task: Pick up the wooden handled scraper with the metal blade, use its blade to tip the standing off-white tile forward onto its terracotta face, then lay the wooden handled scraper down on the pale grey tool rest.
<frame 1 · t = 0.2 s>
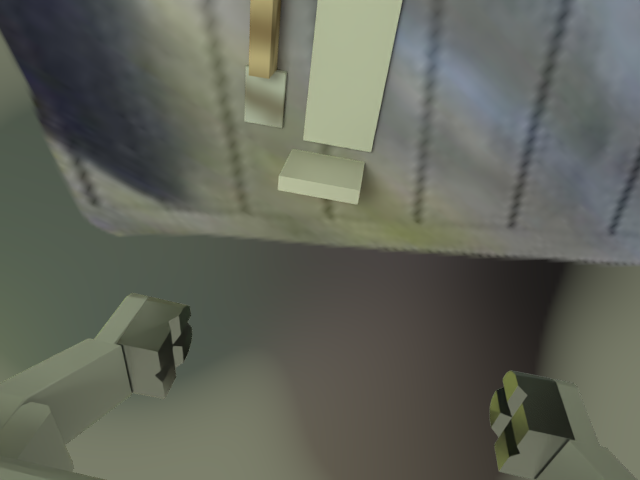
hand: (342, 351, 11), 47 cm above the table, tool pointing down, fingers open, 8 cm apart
tile: (327, 161, 60), on the table
wooden handled scraper: (268, 51, 53), on the table
tool rest: (350, 65, 53), on the table
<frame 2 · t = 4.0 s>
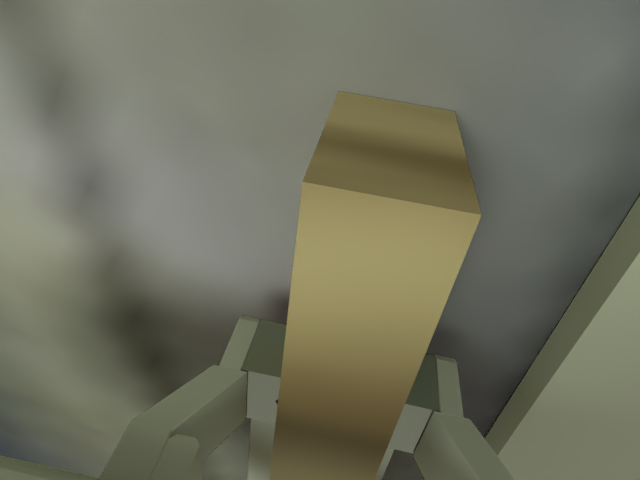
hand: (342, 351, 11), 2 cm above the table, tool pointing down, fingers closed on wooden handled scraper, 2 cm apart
wooden handled scraper: (339, 353, 14), on the table, touching gripper
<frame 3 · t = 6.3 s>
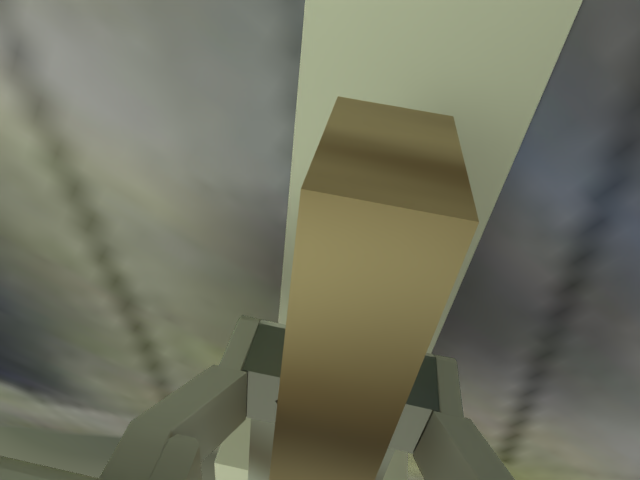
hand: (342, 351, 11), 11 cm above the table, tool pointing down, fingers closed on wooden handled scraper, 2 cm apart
tile: (329, 366, 29), on the table
wooden handled scraper: (338, 356, 14), point 9 cm above the table, touching gripper
tool rest: (384, 208, 21), on the table
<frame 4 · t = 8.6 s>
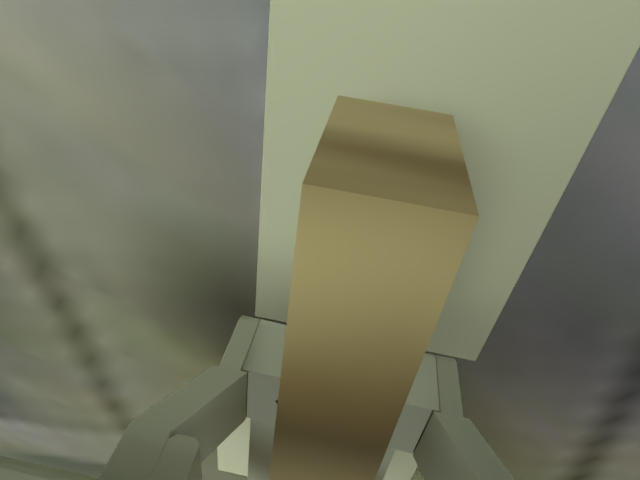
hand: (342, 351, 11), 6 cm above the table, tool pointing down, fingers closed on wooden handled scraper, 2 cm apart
tile: (327, 387, 21), point 1 cm above the table, tilted 90°
wooden handled scraper: (338, 356, 14), point 4 cm above the table, touching gripper
tool rest: (429, 80, 13), on the table
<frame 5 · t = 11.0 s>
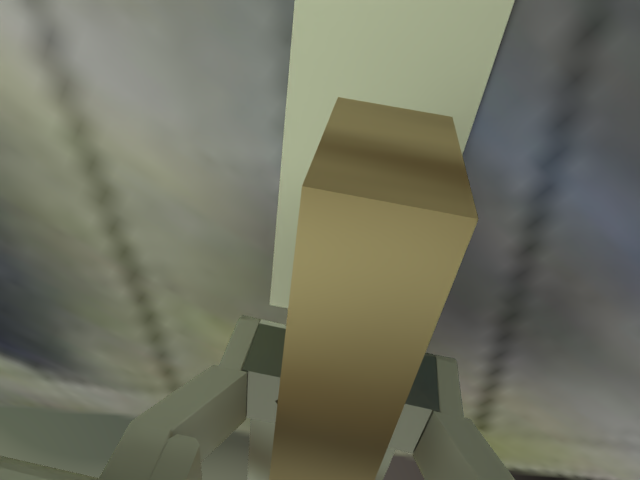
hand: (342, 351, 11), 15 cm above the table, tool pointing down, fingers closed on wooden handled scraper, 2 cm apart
wooden handled scraper: (338, 356, 14), point 13 cm above the table, touching gripper
tool rest: (364, 177, 25), on the table
when the fingers open (4 cm above the table, at t = 13.3 s): wooden handled scraper drops 2 cm, resting on tool rest.
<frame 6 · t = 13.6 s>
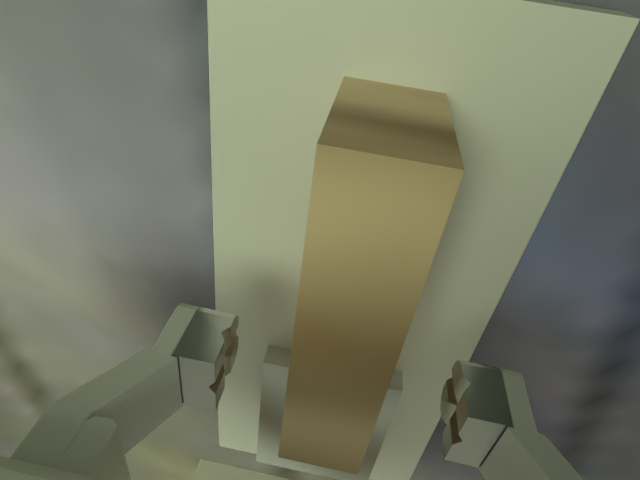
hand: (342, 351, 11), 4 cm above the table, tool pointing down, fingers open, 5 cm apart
wooden handled scraper: (343, 321, 15), point 1 cm above the table, touching tool rest
tool rest: (346, 299, 16), on the table
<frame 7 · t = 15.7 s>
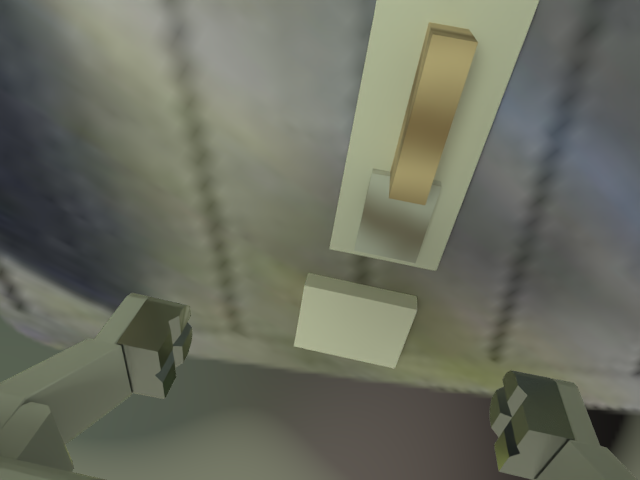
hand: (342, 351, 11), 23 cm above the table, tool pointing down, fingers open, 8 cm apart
tile: (361, 290, 39), point 1 cm above the table, tilted 90°
wooden handled scraper: (413, 149, 31), point 1 cm above the table, touching tool rest
tool rest: (413, 143, 32), on the table
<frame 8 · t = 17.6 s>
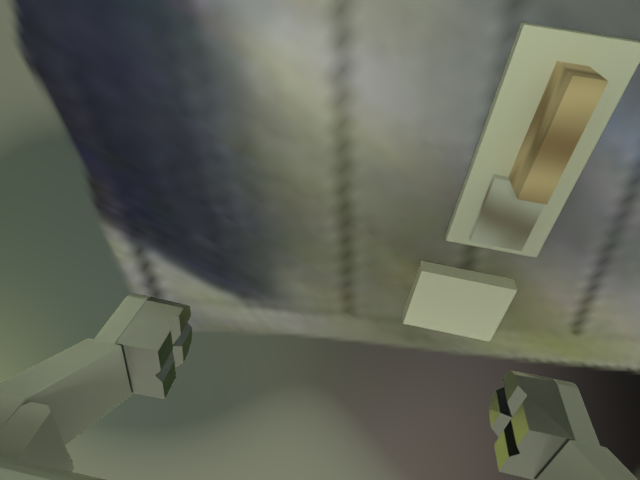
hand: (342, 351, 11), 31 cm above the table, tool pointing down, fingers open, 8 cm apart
tile: (468, 274, 47), point 1 cm above the table, tilted 90°
wooden handled scraper: (530, 159, 38), point 1 cm above the table, touching tool rest
tool rest: (528, 153, 39), on the table
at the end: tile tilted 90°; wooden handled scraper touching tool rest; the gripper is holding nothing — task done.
